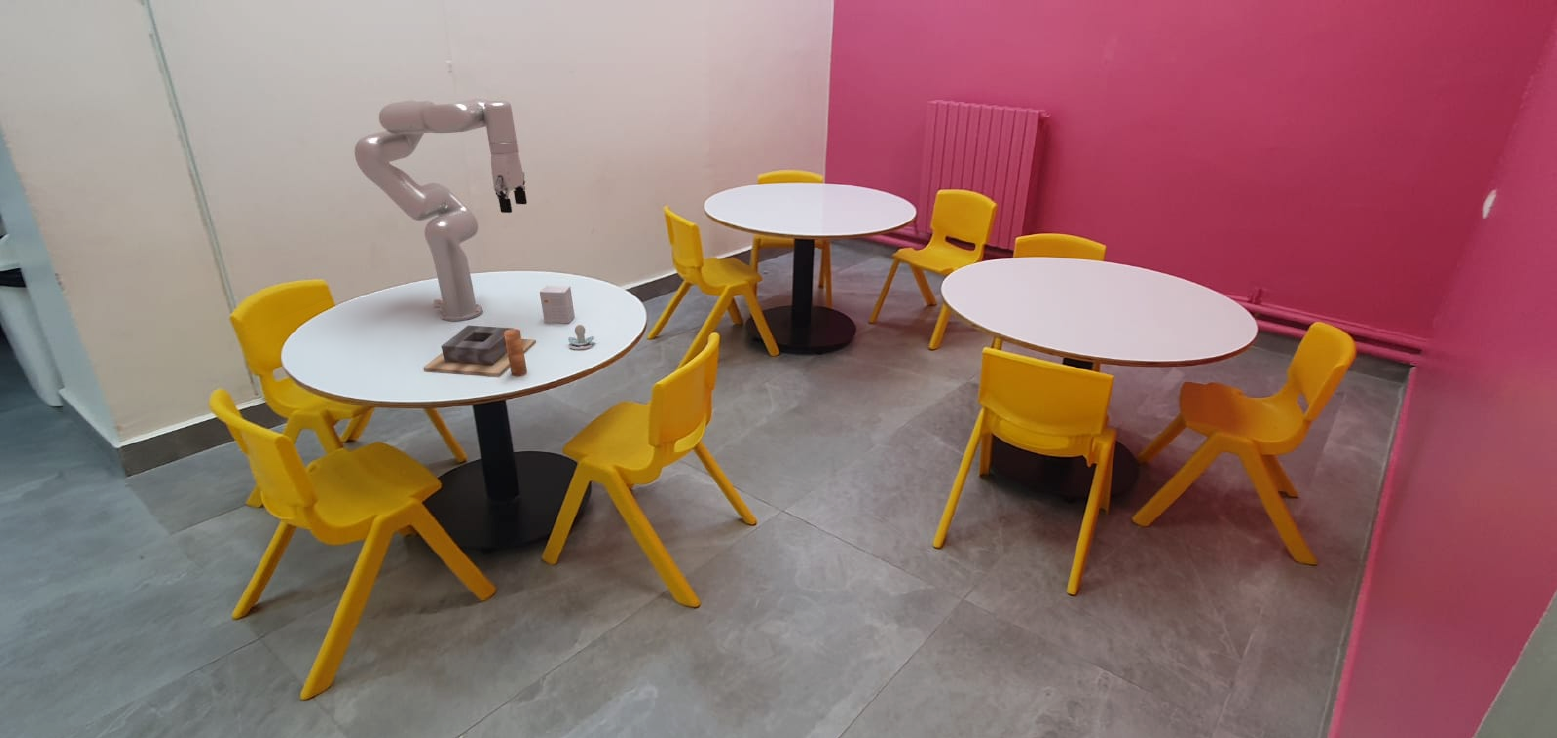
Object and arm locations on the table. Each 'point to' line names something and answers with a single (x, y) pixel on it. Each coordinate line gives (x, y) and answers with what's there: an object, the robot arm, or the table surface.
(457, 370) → the socket
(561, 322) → the small box
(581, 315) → the table surface
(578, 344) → the pacifier
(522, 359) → the peg
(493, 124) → the robot arm
